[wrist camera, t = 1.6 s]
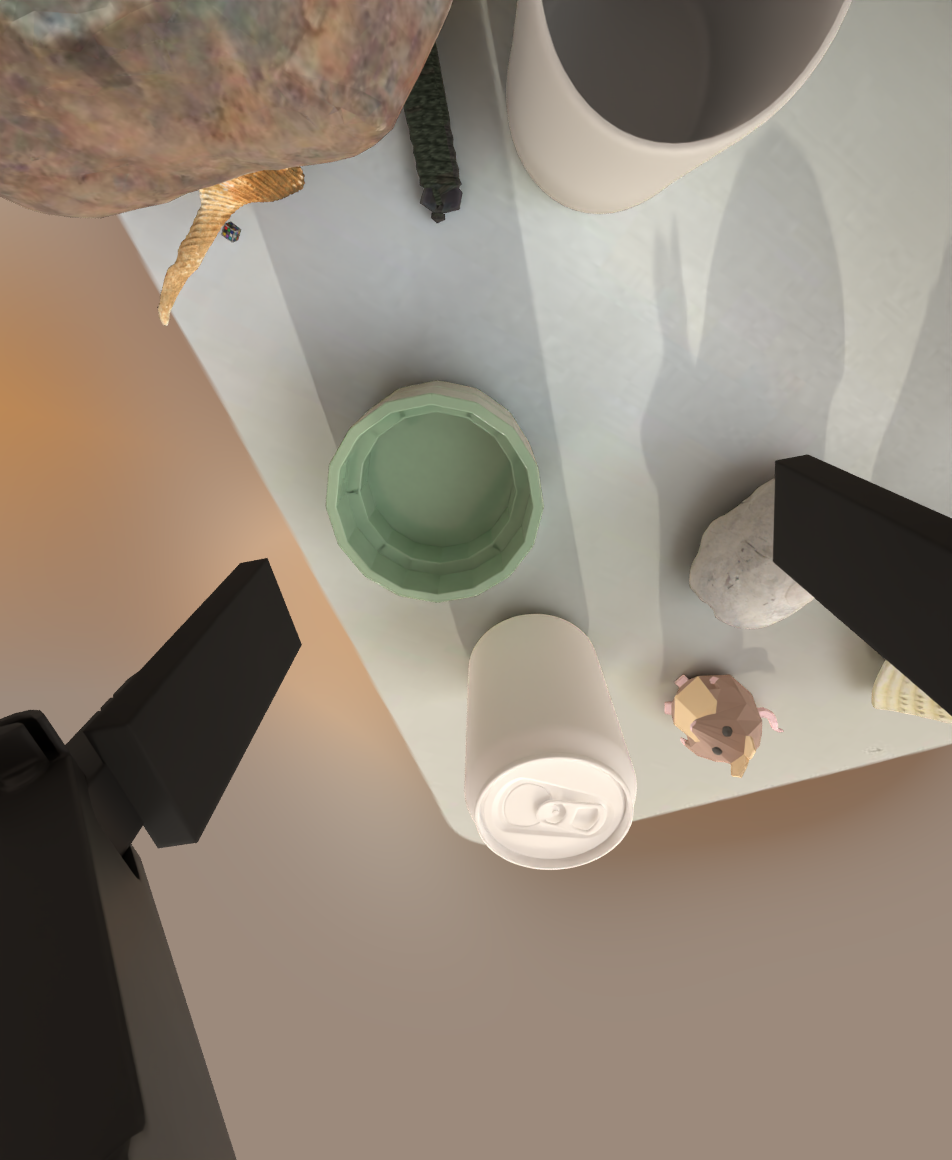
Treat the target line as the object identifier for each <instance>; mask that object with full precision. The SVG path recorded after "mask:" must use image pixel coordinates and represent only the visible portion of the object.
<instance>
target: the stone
mask: <svg viewBox="0 0 952 1160" xmlns="http://www.w3.org/2000/svg"><path fill="white" fill-rule="evenodd" d="M452 1H453V0H0V197H2V198H4V199H6V200H9V201H11V202H13V203H15V204H17V205H19V206H22V207H24V208H26V209H30V210H33V211H37V212H40V213H44V214H49V215H58V216H64V217H77V218H104V217H107V216H111V215H116V214H120V213H124V212H128V211H132V210H135V209H139V208H144V207H149V206H154V205H159V204H164V203H168V202H170V201H172V200H174V199H176V198H178V197H181V196H183V195H185V194H187V193H189V192H193V191H197V190H200V189H204V188H207V187H211V186H214V185H217V184H220V183H223V182H226V181H229V180H231V179H234V178H237V177H240V176H242V175H246V174H250V173H254V172H258V171H262V170H282V169H286V168H291V167H298V166H306V165H314V164H322V163H328V162H334V161H338V160H342V159H346V158H350V157H354V156H356V155H358V154H360V153H362V152H363V151H365V150H367V149H369V148H371V147H372V146H374V145H375V144H376V143H377V142H379V141H380V140H381V139H382V138H383V137H384V136H385V135H386V134H387V133H389V132H390V131H391V130H392V129H393V127H394V125H395V123H396V121H397V118H398V116H399V114H400V112H401V110H402V108H403V106H404V104H405V102H406V100H407V98H408V96H409V94H410V92H411V90H412V88H413V86H414V84H415V82H416V80H417V78H418V77H419V75H420V73H421V71H422V69H423V67H424V64H425V62H426V60H427V58H428V56H429V54H430V52H431V49H432V47H433V45H434V43H435V41H436V39H437V37H438V34H439V32H440V30H441V28H442V26H443V24H444V21H445V19H446V17H447V15H448V13H449V10H450V8H451V4H452Z"/></svg>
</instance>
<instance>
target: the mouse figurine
mask: <svg viewBox="0 0 952 1160" xmlns="http://www.w3.org/2000/svg"><path fill="white" fill-rule="evenodd" d="M675 684H676V685H677V686H678V687H679V690H678V692H677V694H676V696H675V698H674V700H673V702H665V714H671V715H672V718H673V722H674V725H676V726H677V727H678V728H679V729H680V730H681V731H682V732H684V733H685V734H686V735H687V738H688V740H686V739H684V738H682V737H681V742H682V743H683V744H684V745H685V746H686V747H687V748H688V749H690V750H691V751H692V752H694V753H695V754H696V755H697V756H700V757H703V758H706V759H709V760H712V761H715V762H726V763H729V764H731V775H732V776H733V777H739V778H742V776H743V774H744V772H745V770H746V768H747V765H748V762H749V759H752V757H753V755H754V754H755V752H756V749H757V748H758V747H759V745H760V740H761V735H762V719H761V718H762V717H765V718H768V720H769V723H770V726H771V727H772V729H773V730H775V731H777V732H784V731H783V730H782V729H780V728H778V722H777V719H776V717H775V715H774V713H773V712H772V711H770V710H768V709H766V708H763V707H762V708H757V707H756V704H755V702H754V699H753V696H752V694H751V693H750V692H749V691H748V690H747V689H746V688H744V687H743V686H742V685H741V684H740V683H739V682H738V681H737V680H735V679H734V678H733V677H732V676H731V675H710V676H697V677H694V678H692V679H690V680H689V679H688V678H687V677H686V676H685V675H682V676H680V677H679V678H678V679H677V680H676V681H675Z"/></svg>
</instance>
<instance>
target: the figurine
mask: <svg viewBox="0 0 952 1160" xmlns="http://www.w3.org/2000/svg"><path fill="white" fill-rule="evenodd" d="M304 184H305V182H304V174H303V170H302V169H301V167H300V166H298V167H291V168H286V169H282V170H262V171H258V172H254V173H250V174H246V175H242V176H240V177H237V178H234V179H231V180H229V181H226V182H223V183H220V184H217V185H214V186H211V187H207V188H204V189H200V190H199V192H200V199H201V207H200V209H199V210H198V212H197V215H196V218H195V219H194V222H193V225H192V226H191V228H190V232H189V233H188V235H187V236H186V239H184V240H183V241H182V242H181V245H180V247H179V249H178V256H177V260H176V262H175V264H174V265H172V266H170V267H169V268H168V270H167V273H166V276H165V279H164V283H163V287H162V291H161V295H160V303H159V306H158V313H159V318H160V320H161V322H162V324H163V325H164V326H166V325H168V323H169V317H170V312H171V308H172V306H173V304H174V302H175V300H176V298H177V296H178V294H179V292H180V290H181V289H182V287H183V286H184V284H185V282H186V280H187V279H188V277H190V275H191V274H192V273H193V272H194V271H196V270H197V269H198V267H199V266H200V264H201V262H202V260H203V258H204V256H205V254H206V252H207V251H208V249H209V247H210V246H211V244H212V243H213V241H214V239H215V238H216V236H217V233H218V232H219V231H220V229H221V227H222V226H223V225H224V227H223V230H222V234H221V235H222V236H224V237H225V238H226V239H228V240H229V241H230V242H232V243H233V242H235V241H238V239H239V236H240V232H241V229H240V228H239V227H237V226H236V225H235V224H233V223H232V222H228V223H225V222H226V221H227V220H228V219H229V218H230V217H231V214H233V213H235V210H237V209H239V208H240V207H241V206H243V204H248V203H251V202H254V203H255V202H256V203H257V202H264V201H265V202H274V201H275V200H279V199H280V200H281V199H283V198H285V197H287V196H289V195H290V194H293V193H295V192H298V191H299V190H302V189H303V185H304Z"/></svg>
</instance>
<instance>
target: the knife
mask: <svg viewBox="0 0 952 1160" xmlns="http://www.w3.org/2000/svg"><path fill="white" fill-rule="evenodd" d="M404 110H405V115H406V120H407V124H408V126H409V131H410V139H411V141H412V144H413V154H414V156H415V159H416V168H417V172H418V174H419V178H420V186H422V187H423V188H424V191H423V194H422V197H421V200H420V203H421V204H422V205H424V206H425V207H427V208H428V209H429V210H431V211H432V212H434V213H432V216H431V218H432V219H433V220H434V221H435V222H436V223H439V222H441V221H443V220H445V214H443V213H447V212H451V211H455V210H459V209H460V204H461V198H462V191H461V190H460V189H459V187H460V185H461V182H460V179H459V168H458V165H457V162H456V152H455V149H454V147H453V136H452V132H451V128H450V118H449V112H448V107H447V102H446V96H445V91H444V85H443V80H442V74H441V69H440V63H439V58H438V52H437V47H436V41H435V43H434V45H433V47H432V49H431V52H430V54H429V56H428V58H427V60H426V62H425V64H424V67H423V69H422V71H421V73H420V75H419V77H418V78H417V80H416V82H415V84H414V86H413V88H412V90H411V92H410V94H409V96H408V98H407V100H406V102H405V104H404Z"/></svg>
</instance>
